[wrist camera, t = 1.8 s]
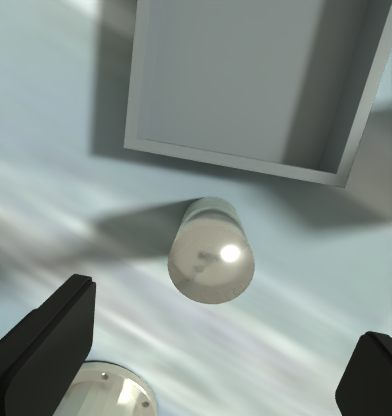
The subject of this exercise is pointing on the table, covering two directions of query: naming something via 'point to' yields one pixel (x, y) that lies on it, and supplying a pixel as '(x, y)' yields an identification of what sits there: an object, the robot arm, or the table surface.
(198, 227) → the tin can
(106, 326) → the table surface
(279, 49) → the tray
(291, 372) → the table surface
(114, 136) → the table surface
